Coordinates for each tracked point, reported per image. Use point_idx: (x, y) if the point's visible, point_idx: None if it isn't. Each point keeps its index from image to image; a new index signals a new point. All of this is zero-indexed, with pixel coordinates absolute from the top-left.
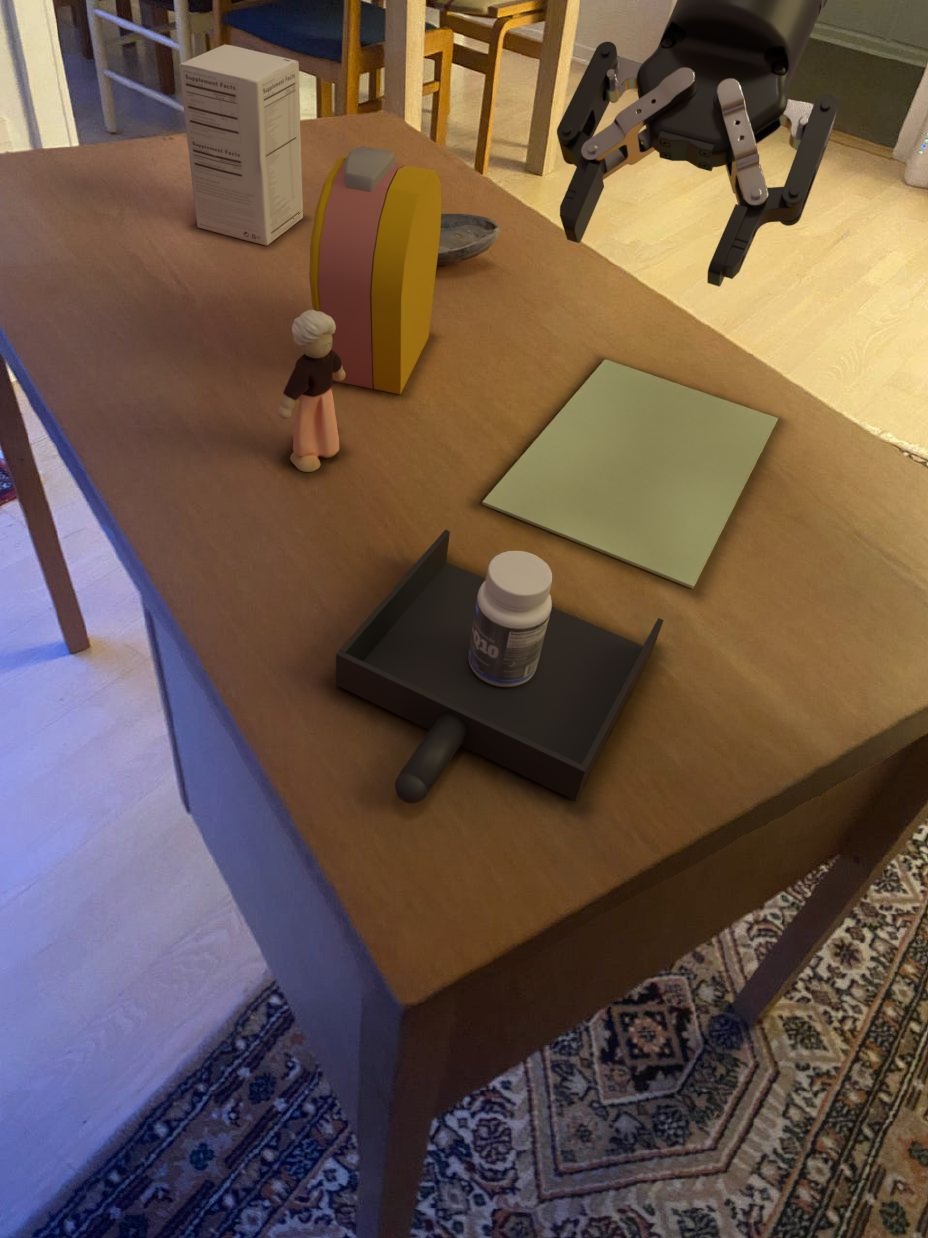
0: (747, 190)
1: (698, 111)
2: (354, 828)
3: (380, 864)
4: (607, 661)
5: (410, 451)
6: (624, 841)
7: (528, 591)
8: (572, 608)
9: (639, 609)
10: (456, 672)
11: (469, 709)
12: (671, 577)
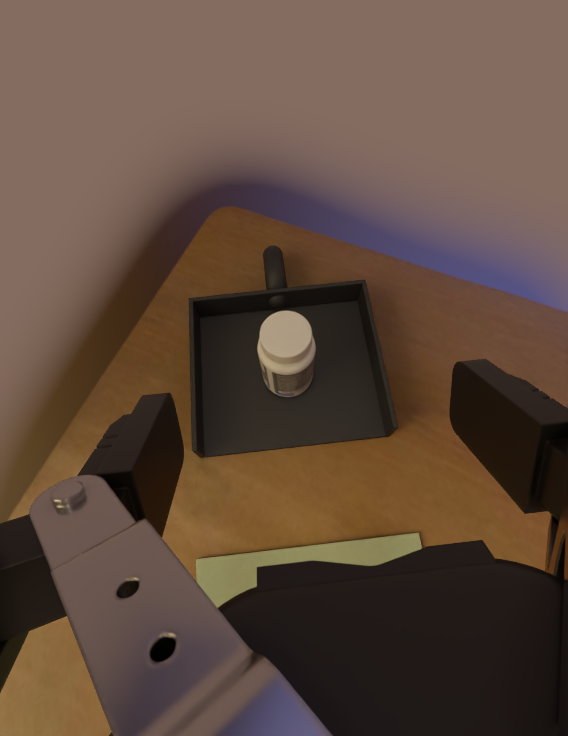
0: (98, 496)
1: (420, 708)
2: (288, 242)
3: (265, 235)
4: (225, 423)
5: (531, 561)
6: (162, 312)
7: (269, 319)
8: (275, 461)
9: (228, 498)
10: None
11: None
12: (218, 556)
